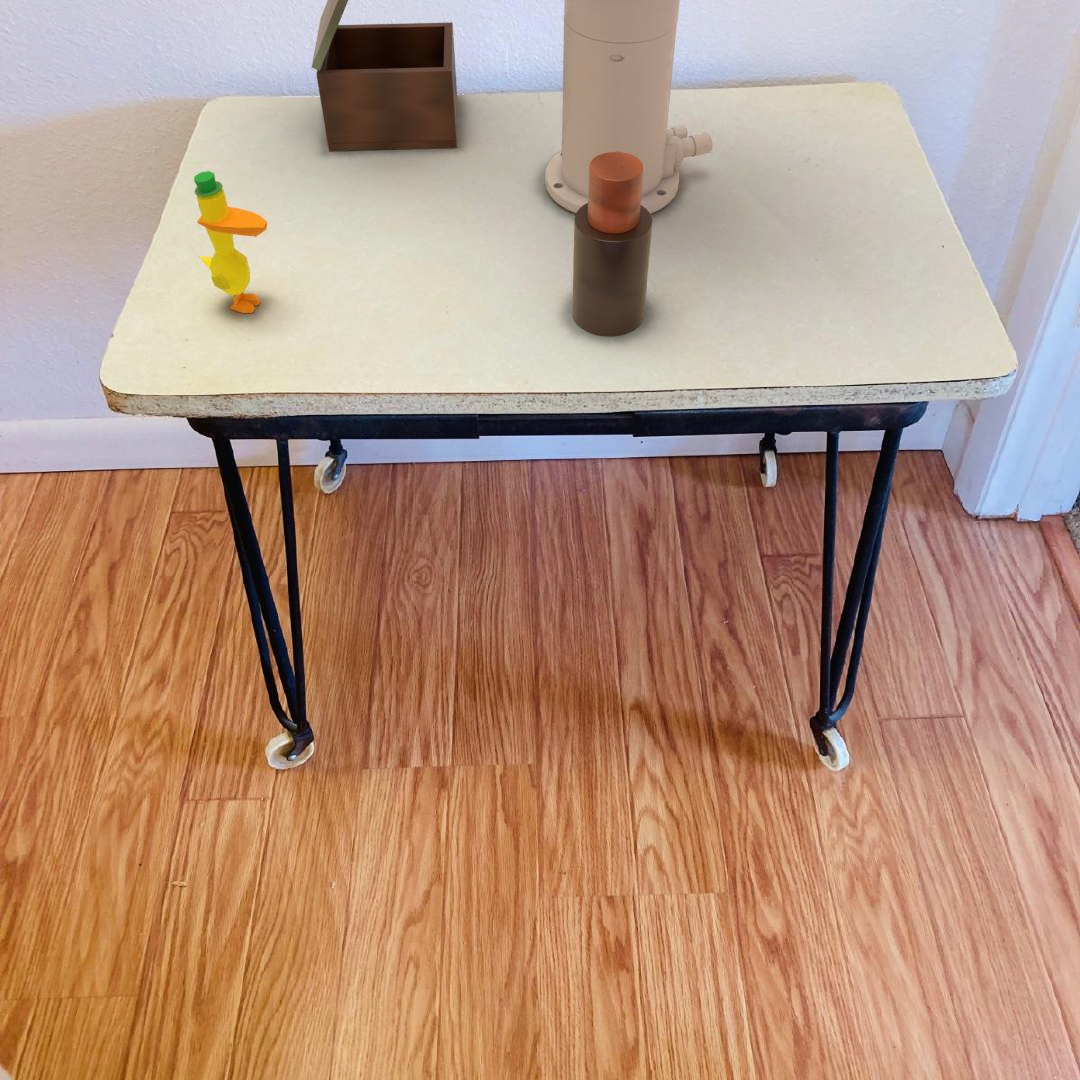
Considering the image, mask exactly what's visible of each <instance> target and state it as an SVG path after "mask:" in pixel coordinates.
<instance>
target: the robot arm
mask: <svg viewBox="0 0 1080 1080" xmlns="http://www.w3.org/2000/svg"><path fill="white" fill-rule="evenodd" d="M680 1H681V0H564V1H563V3H564V4H563V7H564V8H563V9H564V10H563V43H562V44H563V45H562V47H563V50H562V52H563V53H562V110H561V111H562V113H561V114H562V119H561V120H562V121H561V122H562V123H561V124H562V125H561V131H562V132H561V150H560V151H559V152H557V153H555V155H554V156H553V157H552V158H551V159H550V160H549V162H548V163H547V165H546V168H545V172H544V184H545V188H546V192H547V193H548V194H549V196H550V198H551V199H552V200H553V201H554V202H555V203H557V205H559V206H561V207H562V208H564V209H566V210H567V211H569V212H572V213H574V214H576V212H577V211H578V210H579V208H580V207H582V206H583V205H584V204H586V203H588V190H589V165H590V162H591V161H592V159H593V158H595V157H596V156H598V155H600V154H603V153H608V152H623V153H628V154H631V155H633V156H635V157H637V158H638V159H640V160H641V162H642V164H643V181H642V194H641V205H642V206H643V207H645V208H646V209H647V210H648V211H649V213H650V214H653V213H655V212H658V211H660V210H661V209H663V208H664V207H666V206H667V205H668V204H670V203H671V202H672V201H673V199H675V197H676V195H677V193H678V191H679V183H680V172H679V170H678V167H677V165H678V164H681V163H682V162H683V160H684V159H686V158H690V157H691V158H692V157H697V156H702V155H706V154H710V153H712V151H713V139H712V137H711V134H710V133H709V132H707V131H705V132H704V131H703V132H699V133H696V134H690V135H688V130H687V127H686V126H685V125H684V124H681V125H677V126H672V127H670V128H668V124H669V123H668V122H669V111H670V101H671V92H672V91H671V90H672V81H673V80H672V79H673V70H674V60H675V59H674V57H675V49H676V37H677V27H678V22H679V21H678V20H679V11H680Z"/></svg>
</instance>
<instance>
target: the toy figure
mask: <svg viewBox="0 0 1080 1080" xmlns="http://www.w3.org/2000/svg"><path fill="white" fill-rule="evenodd" d="M193 182H194V184H195V185H196V188H195V189H194V194H195V196H196V200H197V203H198V207H199V211H200V214H201V216H200V217H199V218H198V219H197V221H196V223H197V224H198V225H200V226H202V227H204V228H205V230H206V233H207V235H208V237H209V240H210V242H211V244H212V246H213V249H214V253H213V255H212V256H198V258H199V259H200V261H202V262H203V263H204V264H205V266H206V267H207V268H208V269H209V270H210V272H211V276H210V279H211V280H212V283H213V285H214V287H216V288H218V289H220V290H222V291H223V292H224V293H225V294H227V295H229V296H232V300H233V303H232V304H231V306H230V310H232V311H235V312H239V313H241V314H253V313H254V312H255V310H256V307H257V306H259V305H260V303H261V299H260V298H259V297H258V296H257V295H256V294H254V293H251V292H250V293H244V292H245V291H246V290H247V288H248V286H249V284H250V281H251V269H250V266H249V261H248V258H247V256H246V255H244V254H243V253H242V252H240V251H239V250H238V249H236V248H235V242H234V235H236V236H242V237H243V236H244V237H255V238H256V237H258V236H260V235H261V234H263V232H265V231H267V229H268V228H267V227H268V221H267V220H266V219H265V218H263V217H262V216H261V214H258V213H255V212H253V211H250V210H246V209H242V208H238V207H233V206H228V201H227V199H226V193H225V190H224V187H223V184H222V182H220V181H217V180H216V176H215V172H212V171H210V170H207V171H201V172H198V173H197V174H196V175H194V178H193Z"/></svg>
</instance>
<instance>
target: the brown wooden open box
mask: <svg viewBox="0 0 1080 1080" xmlns="http://www.w3.org/2000/svg"><path fill="white" fill-rule="evenodd" d="M454 39H455V38H454V24H453V22H412V23H407V22H406V23H370V24H369V23H368V24H367V23H366V24H365V23H364V24H339V25H338V27H337V29H336V32H335V34H334V37H333V39H332V42H331V44H330V47H329V49H328V52H327V54H326V57H325V59H324V62H323V64H322V66H321V69H320V71H318V70H316V81H317V86H318V93H319V98H320V105H321V111H322V112H321V113H322V117H323V118H322V119H323V123H324V128H325V129H324V130H325V136H326V141H327V147H328V151H329V152H342V151H343V152H344V151H345V152H346V151H349V152H350V151H381V150H384V151H385V150H387V151H388V150H420V149H421V150H422V149H425V150H426V149H456V148H458V91H457V90H458V89H457V88H458V87H457V69H456V56H455V40H454Z"/></svg>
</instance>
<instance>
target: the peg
mask: <svg viewBox="0 0 1080 1080" xmlns="http://www.w3.org/2000/svg"><path fill="white" fill-rule="evenodd" d="M642 181H643V164H642V162H641V160H640V159H638V158H637V157H635V156H633V155H631V154H628V153H623V152H608V153H603V154H600V155H598V156H596V157H595V158H593V159H592V161H591V162H590V165H589V190H588V217H587V218H588V222H589V224H590V225H591V226H592V227H593V228H595V229H596V230H598V231H601V232H605V233H611V234H617V233H624V232H628V231H630V230H632V229H634V228H635V227H636V226H637V225H638V223H639V220H640V207H641V194H642Z"/></svg>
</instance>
